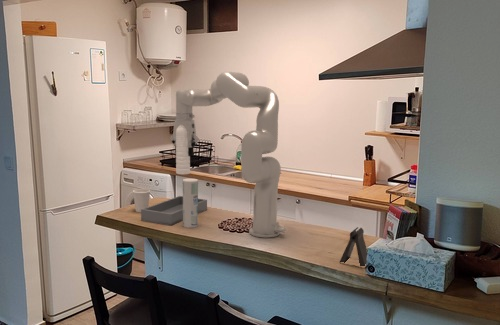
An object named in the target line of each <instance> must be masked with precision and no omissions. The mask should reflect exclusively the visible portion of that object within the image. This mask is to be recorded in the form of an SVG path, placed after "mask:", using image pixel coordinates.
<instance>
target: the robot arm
mask: <svg viewBox="0 0 500 325" xmlns="http://www.w3.org/2000/svg"><path fill="white" fill-rule="evenodd" d="M175 92H176V93H175V120H174V124H173V132H172V134H171V136H169V140H170V141H171V142H172V144H173V146H174V149H175V150H174V152H175V154H176V130H177V128H178V126H179V125H183V126H184V127H185V128H186V130H187V140H188V142H189V143H188V144H189V148H188V156H190V157H192V156H194V154H195V153H194V150H195V149H194V148H195V146H197V144H198V143H199V142H200V138H198V136H197V130H196V123H195V120H194V118H195V117H196V116H195V114H193V107H209V106H213V105H215V104H219V103H220V102H222V101H223V100H224V99H228V100H230V101H231V102H232V103H234V104H235V105H236V106H238V107H240V108H244V109H246V108H249V109H251V108H259V110H258V113H257V116H256V127H255V130H250V131H248V132H247V133H245V135H243V138H242V140H241V145H240V146H241V150H240V151H241V152H240V154H241V157H240V158H241V160H240V162H241V163H240V164H241V165H240V168H241V169H240V170H241V175H242V179H244V181H246V182H247V183H249V184H255V186H254V188H253V213H252V214H253V215H252V216H253V217H252V227H250V228H249V230H248V233H249V234H250V235H251V236H253V237H257V238H266V239H267V238H275V237H278V236H279V235H280V234H281V233H282V234H285V233H286V231H287V229H286V227H285V226H281V225H280V223H279V222H278V221H277V220H278V218H277V216H278V215H277V214H278V193H279V192H278V191H279V190H278V188H279V181H280V177H281V172H282V170H281V168H282V167H281V164H280V161H279V160H278V159H277V158H275V157H272V156H263V155H267V154H272V153H274V152H275V151H276V150H277V148H278V136H279V135H278V134H279V123H278V122H279V111H280V110H279V109H280V102H279V96H278V95H277V94H276V92H275V91H274V90H272V89H271V88H269V87H266V86H261V85H250V82H249V78H248V77H247V75H245V74H243V73H241V72H238V71H237V72H235V71H223V72H221V73H220V74H219V75H217V77H216V79H215V80H214V81H212V83H211V85H210V88H208V89H193V88H192V89H178V90H176V91H175Z"/></svg>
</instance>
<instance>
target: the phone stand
mask: <svg viewBox="0 0 500 325" xmlns="http://www.w3.org/2000/svg"><path fill="white" fill-rule="evenodd" d="M364 230H365V229H363V227H360V228H359V227H358V226H357V227H355V228H354V229H353V230H352V231H351V232H350V233H349V240H348V242H347V244H346V246H345V247H346V248H345V250H344V252H343V253H342V256H341V258H340V260H339V263H340V262H344V263H345V262H346V261H347V260H348V259H349V258H351V256H352V253H353V250H354V247H355V246H356V247H355V248H356V252H357V257H358V260H359V263H360V266H365V264H366V250H367V251H368V248H367V246H366V241H365V238H364V232H365V231H364Z"/></svg>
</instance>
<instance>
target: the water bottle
mask: <svg viewBox="0 0 500 325" xmlns="http://www.w3.org/2000/svg"><path fill="white" fill-rule="evenodd" d="M188 143H189V142H188V140H187V130H186V128H185V127H184V126H183V125H179V126H178V128H177V130H176V153H175V163H176V164H175V167H176V168H175V174H177V175H183V176H184V175H189V174H191V156H188V148H189V144H188Z"/></svg>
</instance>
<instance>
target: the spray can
mask: <svg viewBox="0 0 500 325" xmlns="http://www.w3.org/2000/svg"><path fill="white" fill-rule="evenodd" d="M182 196H183V221H182V226H183V227H184V228H186V229H187V228H188V229H191V228H193V229H194V228H196V227H198V222H199V220H198V218H199V216H198V215H199V214H198V199H199V179H197V178H183V179H182Z"/></svg>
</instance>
